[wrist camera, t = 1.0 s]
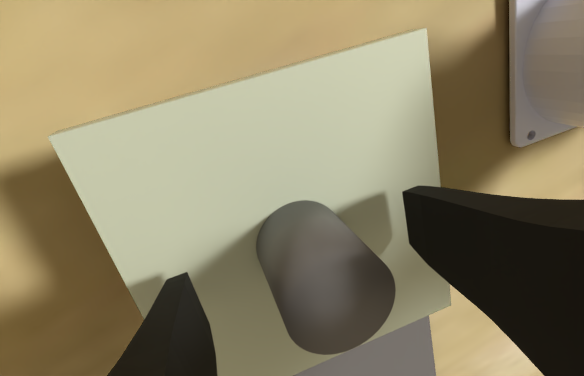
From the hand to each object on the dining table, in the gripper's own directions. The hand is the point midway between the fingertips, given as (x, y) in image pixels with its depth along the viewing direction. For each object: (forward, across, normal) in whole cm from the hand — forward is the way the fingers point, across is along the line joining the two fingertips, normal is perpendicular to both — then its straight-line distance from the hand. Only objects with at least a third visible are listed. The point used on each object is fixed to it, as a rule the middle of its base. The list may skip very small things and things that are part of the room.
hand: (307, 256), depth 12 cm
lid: (+2, 0, 0) cm, 2 cm away
